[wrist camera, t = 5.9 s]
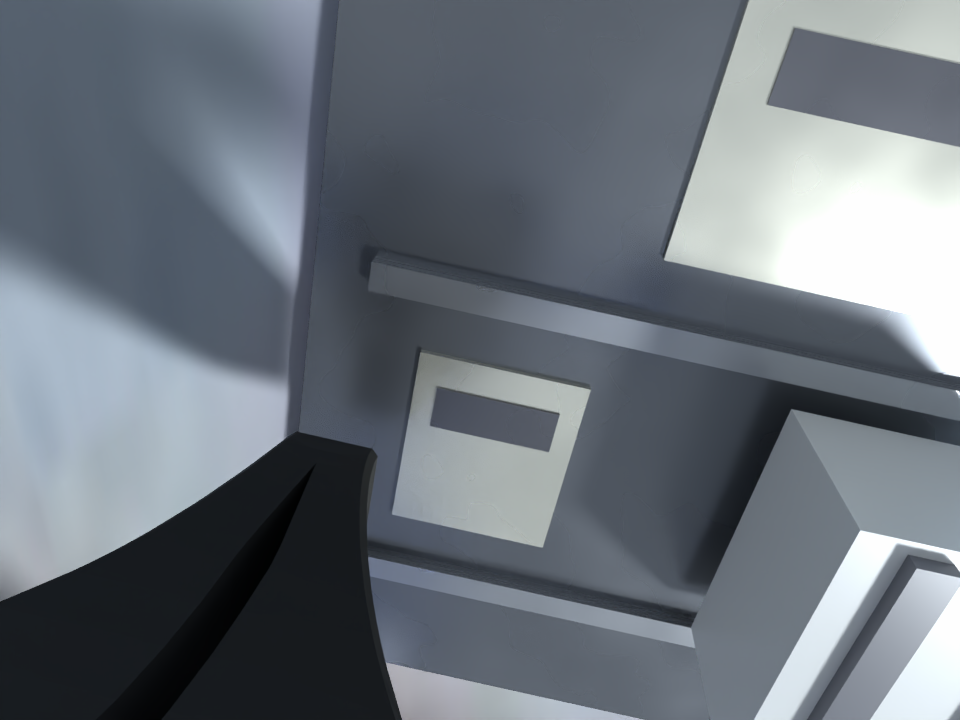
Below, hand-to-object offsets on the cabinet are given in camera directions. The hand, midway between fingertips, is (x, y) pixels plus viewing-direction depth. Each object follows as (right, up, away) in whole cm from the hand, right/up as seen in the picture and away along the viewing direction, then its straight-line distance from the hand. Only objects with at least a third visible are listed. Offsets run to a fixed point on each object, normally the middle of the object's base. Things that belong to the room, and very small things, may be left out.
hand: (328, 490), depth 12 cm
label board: (+5, +2, +1) cm, 6 cm away
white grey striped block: (+9, -1, +1) cm, 9 cm away
